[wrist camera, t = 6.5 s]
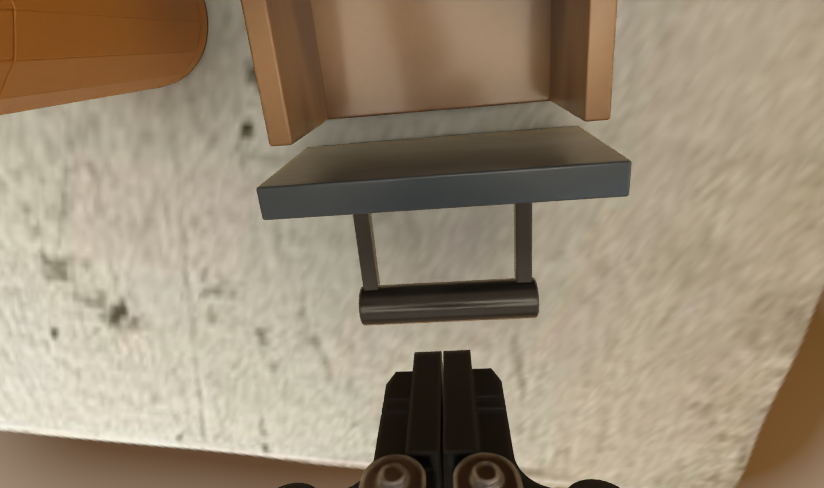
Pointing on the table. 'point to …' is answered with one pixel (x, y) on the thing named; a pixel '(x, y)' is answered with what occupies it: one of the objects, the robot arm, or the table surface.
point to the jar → (94, 48)
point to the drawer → (437, 156)
